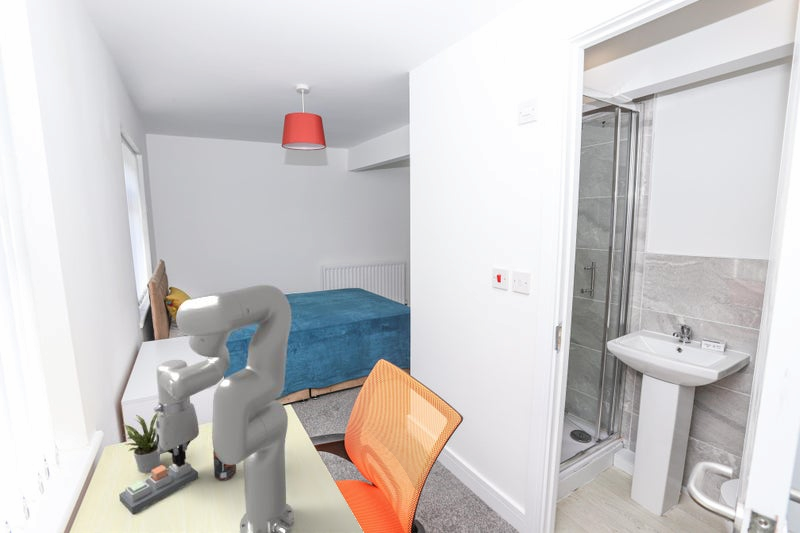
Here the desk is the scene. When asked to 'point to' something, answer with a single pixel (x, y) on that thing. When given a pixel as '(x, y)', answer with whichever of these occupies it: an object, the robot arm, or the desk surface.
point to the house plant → (144, 446)
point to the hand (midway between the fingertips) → (179, 463)
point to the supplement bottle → (223, 469)
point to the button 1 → (137, 486)
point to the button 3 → (179, 467)
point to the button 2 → (159, 473)
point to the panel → (157, 488)
